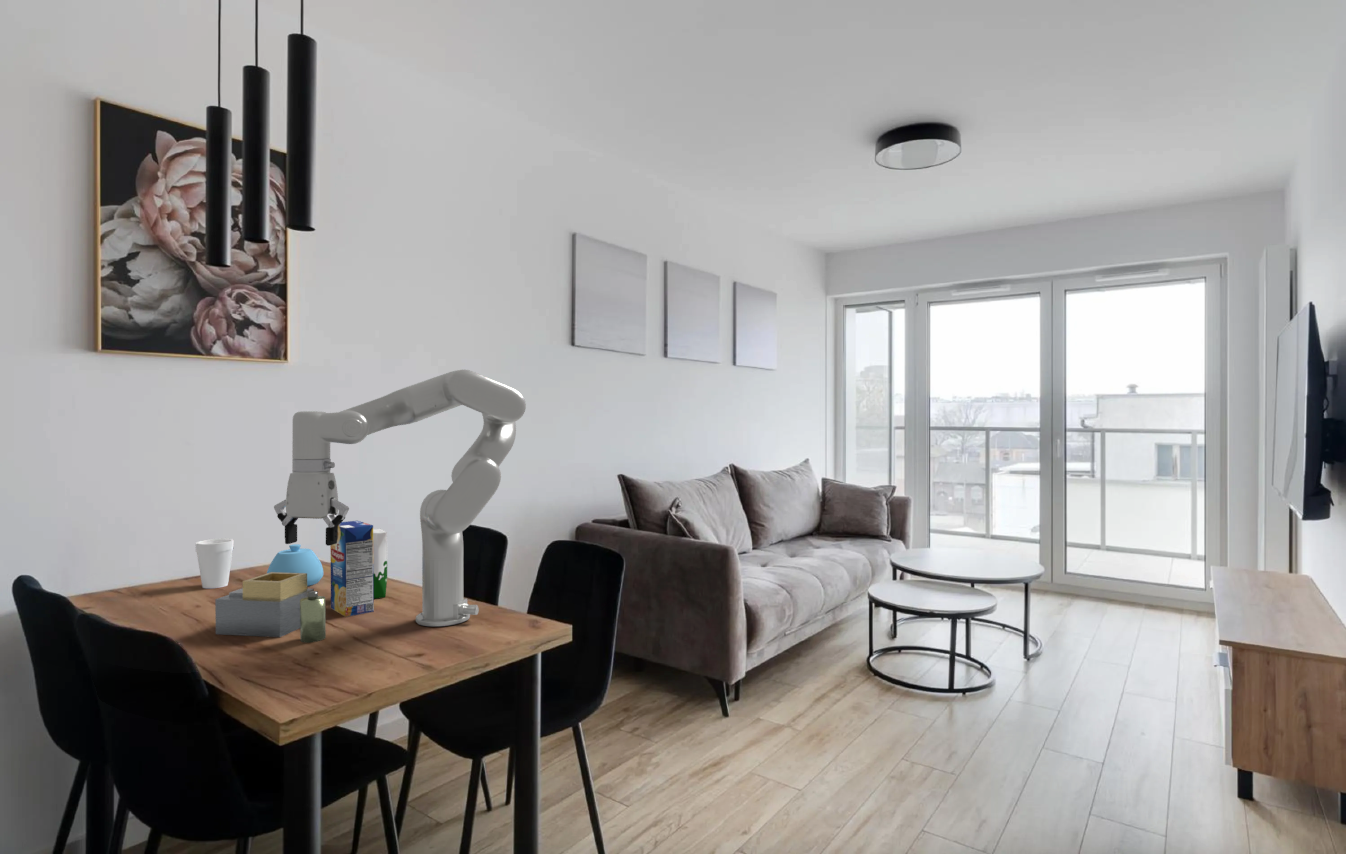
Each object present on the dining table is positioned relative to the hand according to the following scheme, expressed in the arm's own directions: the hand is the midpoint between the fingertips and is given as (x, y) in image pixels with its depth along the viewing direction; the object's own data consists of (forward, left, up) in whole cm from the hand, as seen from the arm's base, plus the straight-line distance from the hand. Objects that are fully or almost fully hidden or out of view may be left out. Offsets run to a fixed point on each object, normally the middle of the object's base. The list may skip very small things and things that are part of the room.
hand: (311, 543), depth 158 cm
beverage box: (+5, -23, -22) cm, 32 cm away
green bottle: (0, 0, -21) cm, 21 cm away
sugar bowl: (+38, -47, -22) cm, 64 cm away
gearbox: (+16, -6, -21) cm, 27 cm away
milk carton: (+8, -36, -22) cm, 43 cm away
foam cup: (+59, -41, -22) cm, 75 cm away
